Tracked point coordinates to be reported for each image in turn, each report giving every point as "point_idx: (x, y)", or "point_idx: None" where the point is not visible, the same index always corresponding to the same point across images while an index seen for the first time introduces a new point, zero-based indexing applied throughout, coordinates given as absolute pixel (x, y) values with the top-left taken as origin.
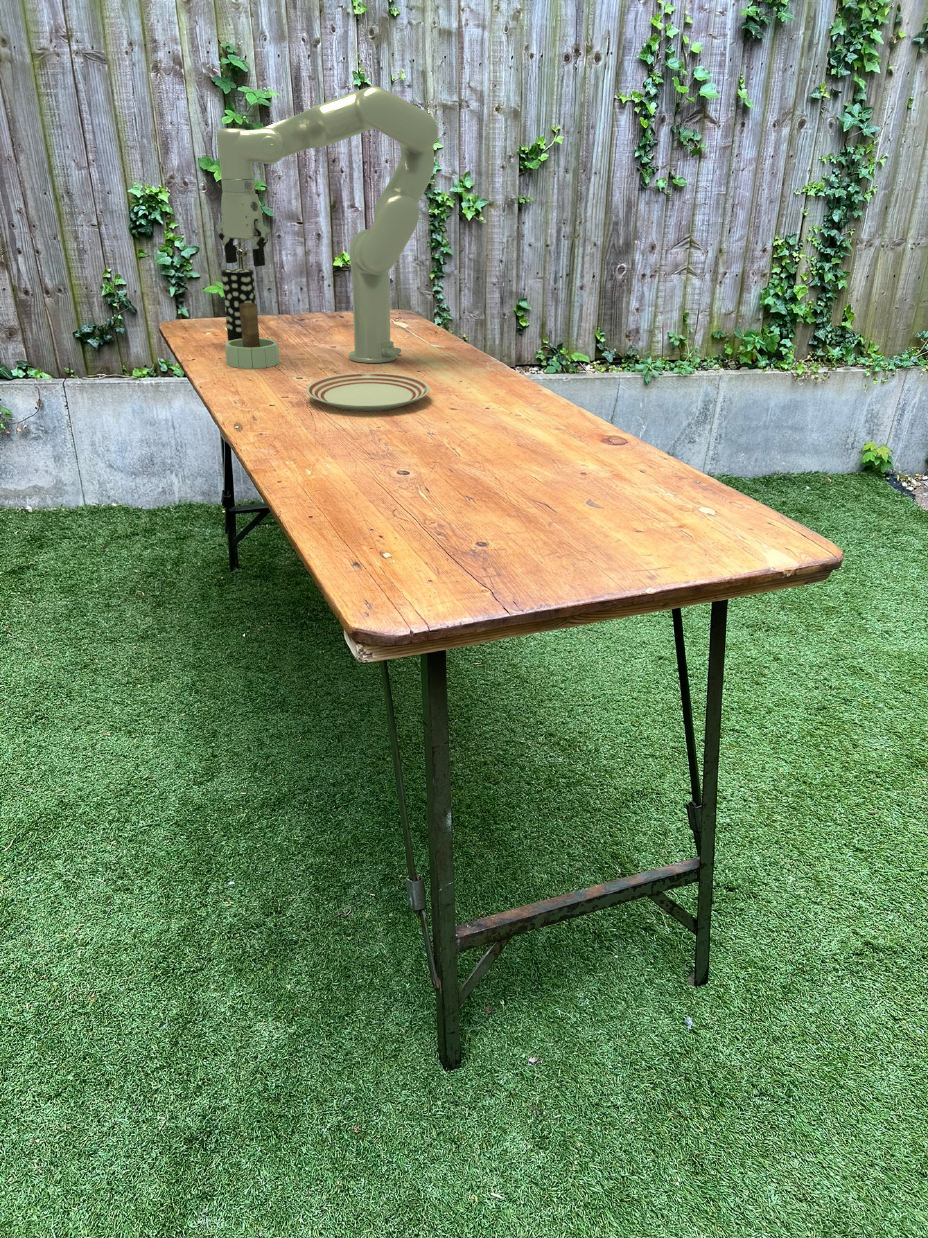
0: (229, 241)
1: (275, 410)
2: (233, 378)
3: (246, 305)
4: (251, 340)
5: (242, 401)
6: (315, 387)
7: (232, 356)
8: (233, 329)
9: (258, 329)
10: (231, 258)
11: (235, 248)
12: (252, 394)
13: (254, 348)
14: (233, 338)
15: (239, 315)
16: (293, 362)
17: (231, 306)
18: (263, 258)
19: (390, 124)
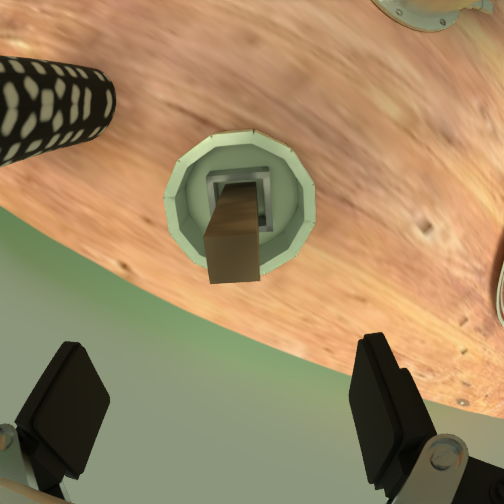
0: (35, 474)
1: (474, 358)
2: (325, 311)
3: (253, 280)
4: (258, 226)
5: (425, 367)
6: (501, 296)
7: None
8: (66, 145)
9: (255, 203)
10: (93, 398)
11: (46, 414)
12: (419, 344)
13: (301, 247)
14: (77, 143)
15: (58, 136)
16: (311, 119)
17: (28, 156)
18: (412, 387)
19: None
